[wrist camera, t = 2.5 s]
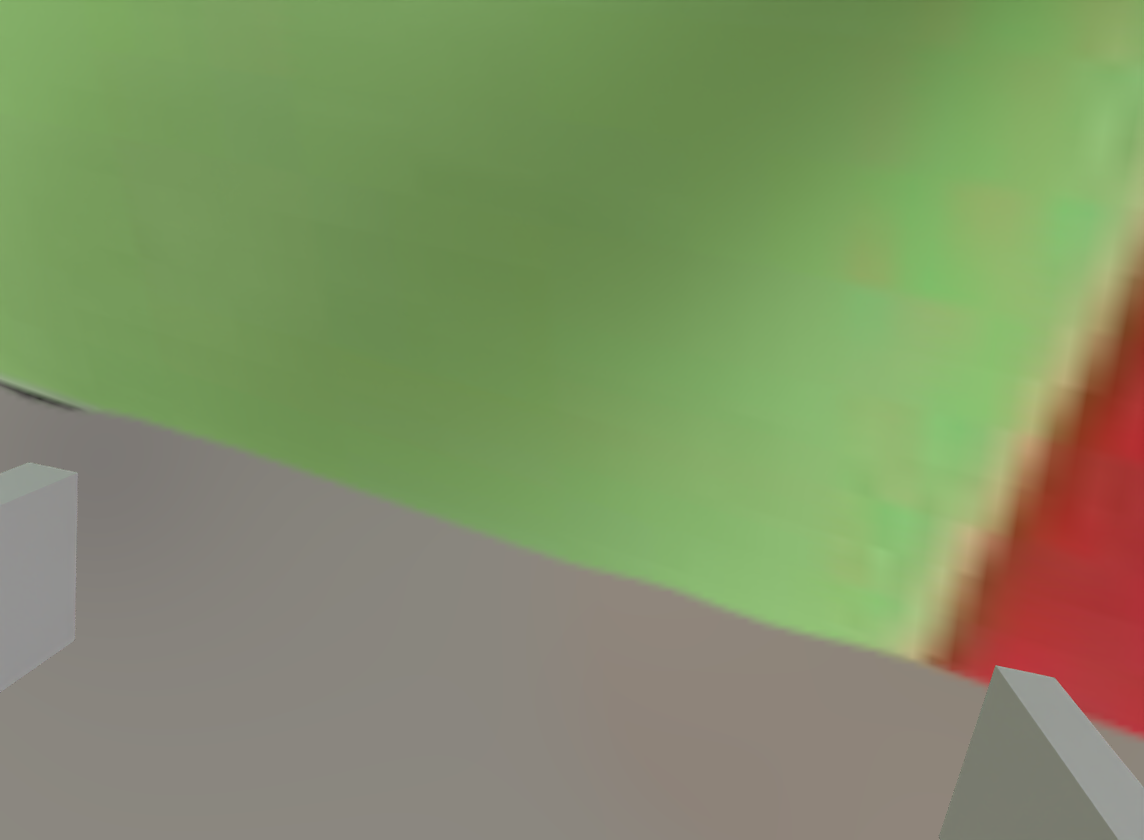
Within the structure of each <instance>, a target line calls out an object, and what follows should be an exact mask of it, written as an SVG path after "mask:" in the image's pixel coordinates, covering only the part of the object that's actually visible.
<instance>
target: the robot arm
mask: <svg viewBox="0 0 1144 840" xmlns="http://www.w3.org/2000/svg"><path fill="white" fill-rule="evenodd" d="M77 495H78V472H72V471H68V470H63V469H59V468H54V467H49V466H44V465H39V464H35V463H30V462H29V463H27V464H24V465H21V466H18V467H16V468H13V469H10V470H8V471H5V472H2V473H0V692H2V691H3V690H5V689H6V688H8V687H9V686H10V685H12V684H13V683H14V682H16V681H17V680H19V679H20V678H22V677H23V676H25V675H26V674H27V673H29V672H30V671H32V670H33V669H35V668H36V667H38V666H39V665H40V664H42V663H43V662H45V661H46V660H48V659H49V658H51V657H52V656H53V655H55V654H56V653H58V652H59V651H61V650H62V649H63V648H65V647H66V646H68V645H69V644H71V643H72V642H73V641H75V609H76V608H75V607H76V552H77V551H76V550H77V549H76V548H77V497H78V496H77ZM939 839H940V840H1144V787H1143V786H1142V785H1141V784H1140V782H1139V781H1138V780H1137V779H1136V777H1135V776H1134V775H1133V774H1132V772H1131V771H1130V770H1129V769H1128V767H1127V766H1126V765H1125V764H1124V763H1123V761H1122V760H1121V759H1120V758H1119V756H1118V755H1117V754H1116V753H1115V752H1114V750H1113V749H1112V748H1111V747H1110V745H1109V744H1108V743H1107V742H1106V740H1105V739H1104V738H1103V737H1102V735H1100V733H1099V732H1098V731H1097V729H1096V728H1095V727H1094V726H1093V724H1092V723H1091V722H1090V721H1089V719H1088V718H1087V717H1086V716H1085V715H1084V713H1083V712H1082V711H1081V710H1080V708H1079V707H1078V706H1077V705H1076V703H1075V702H1074V701H1073V700H1072V699H1071V697H1070V696H1069V695H1068V694H1067V692H1066V691H1065V690H1064V689H1063V687H1062V686H1061V685H1060V684H1059V683H1058V681H1057V680H1056V679H1055V678H1053V677H1048V676H1044V675H1039V674H1034V673H1029V672H1025V671H1020V670H1015V669H1010V668H1006V667H1001V666H995V669H994V672H993V675H992V678H991V681H990V684H989V687H988V690H987V693H986V696H985V700H984V702H983V705H982V708H981V711H980V714H979V717H978V720H977V724H976V727H975V730H974V732H973V736H972V738H971V742H970V744H969V747H968V750H967V754H966V757H965V760H964V763H963V766H962V769H961V772H960V775H959V778H958V781H957V784H956V787H955V790H954V793H953V796H952V799H951V802H950V805H949V808H948V811H947V814H946V817H945V820H944V823H943V826H942V829H941V832H940V835H939Z"/></svg>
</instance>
